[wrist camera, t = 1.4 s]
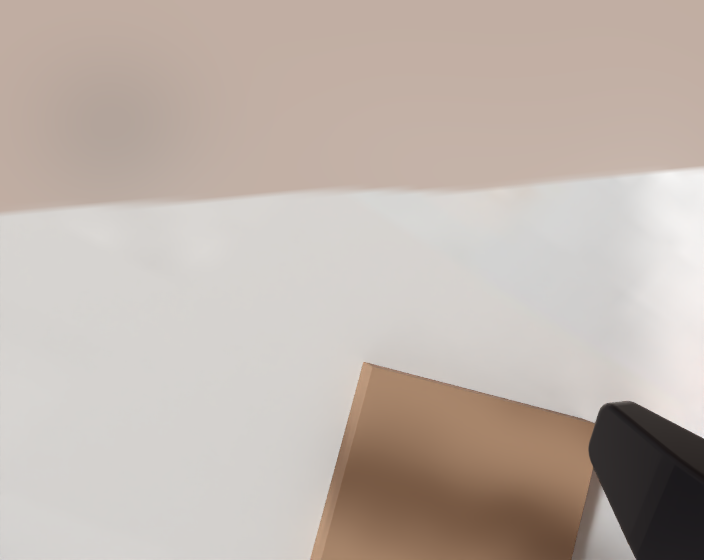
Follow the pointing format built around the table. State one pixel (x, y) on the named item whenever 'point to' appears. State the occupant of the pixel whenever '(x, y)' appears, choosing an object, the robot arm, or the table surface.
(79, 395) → the table surface
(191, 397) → the table surface
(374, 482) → the walnut block
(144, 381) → the table surface
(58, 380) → the table surface
